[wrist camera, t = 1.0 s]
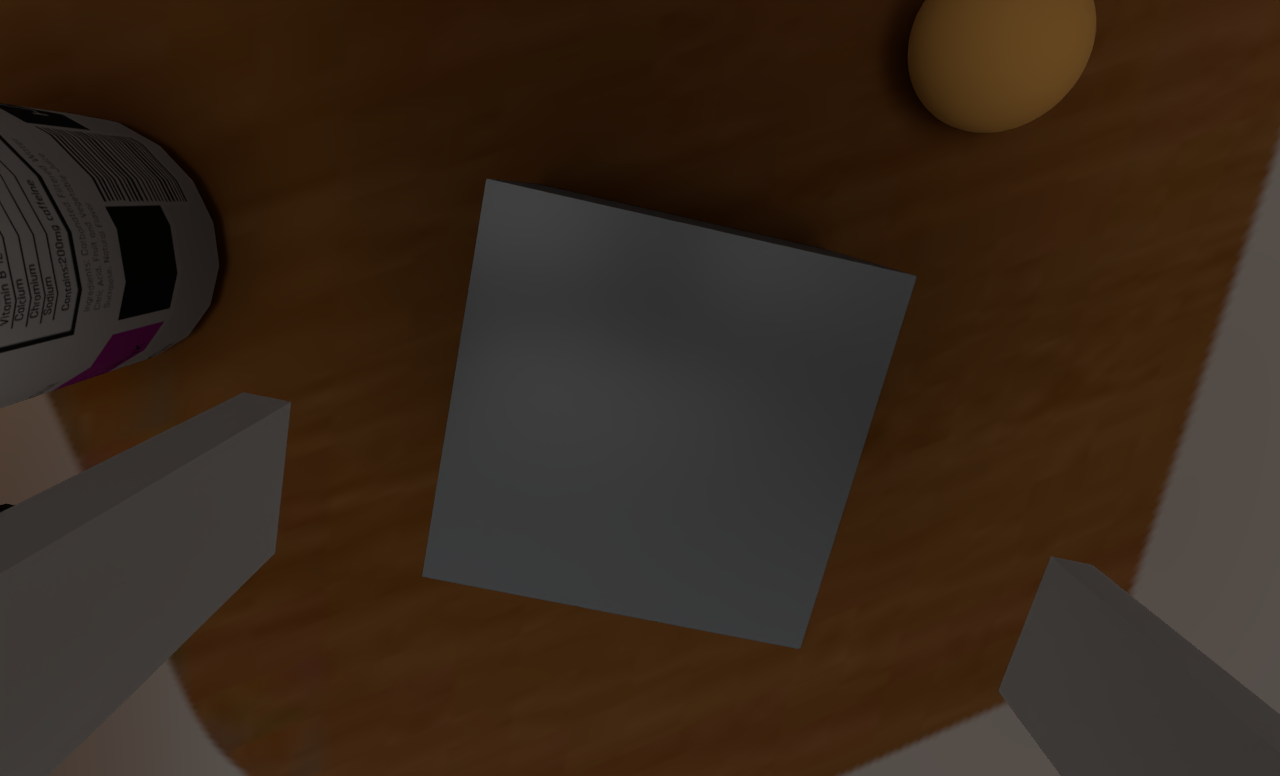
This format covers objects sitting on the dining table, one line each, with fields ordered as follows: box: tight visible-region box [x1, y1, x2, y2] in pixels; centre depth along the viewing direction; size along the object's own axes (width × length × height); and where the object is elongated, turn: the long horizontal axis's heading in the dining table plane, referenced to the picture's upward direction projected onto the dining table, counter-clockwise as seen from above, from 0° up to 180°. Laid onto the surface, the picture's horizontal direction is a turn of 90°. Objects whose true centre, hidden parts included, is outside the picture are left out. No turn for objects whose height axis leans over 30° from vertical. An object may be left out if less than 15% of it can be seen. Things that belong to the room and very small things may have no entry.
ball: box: [908, 0, 1096, 133], centre depth 22 cm, size 5×5×5 cm
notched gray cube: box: [422, 179, 917, 649], centre depth 22 cm, size 10×10×9 cm
